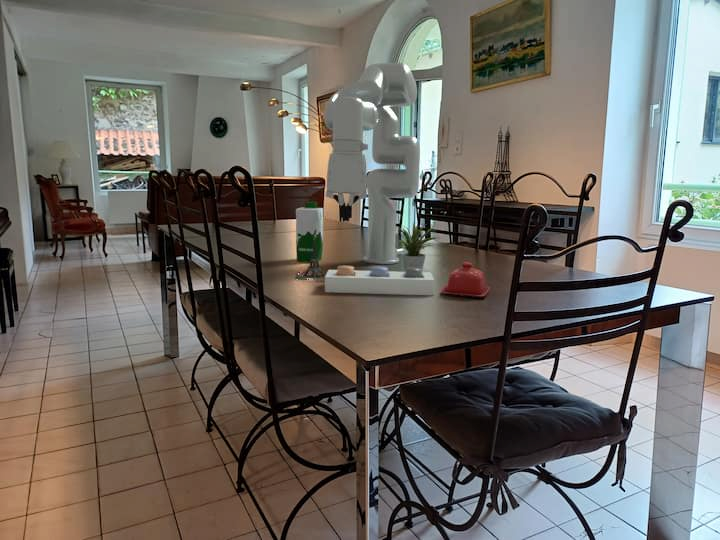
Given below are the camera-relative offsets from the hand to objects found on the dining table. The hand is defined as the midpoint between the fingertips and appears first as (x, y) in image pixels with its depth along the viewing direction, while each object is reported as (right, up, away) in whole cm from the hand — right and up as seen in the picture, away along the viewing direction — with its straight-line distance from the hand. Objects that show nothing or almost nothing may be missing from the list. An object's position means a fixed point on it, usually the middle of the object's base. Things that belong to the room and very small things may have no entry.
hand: (345, 220), depth 135 cm
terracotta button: (0, -15, +3) cm, 16 cm away
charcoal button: (+18, -16, +3) cm, 24 cm away
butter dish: (+31, -19, +2) cm, 37 cm away
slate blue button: (+9, -15, +3) cm, 18 cm away
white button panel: (+9, -18, +4) cm, 20 cm away
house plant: (+19, -15, +23) cm, 33 cm away
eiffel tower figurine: (-10, -15, +19) cm, 26 cm away
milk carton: (-14, -10, +45) cm, 48 cm away
